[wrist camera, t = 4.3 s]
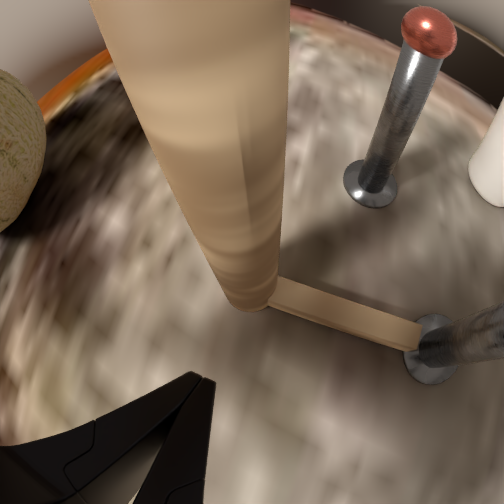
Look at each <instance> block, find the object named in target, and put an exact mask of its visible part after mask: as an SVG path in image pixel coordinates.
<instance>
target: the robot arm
mask: <svg viewBox="0 0 504 504" xmlns="http://www.w3.org/2000/svg"><path fill="white" fill-rule="evenodd" d="M215 390H216V382H215V381H213V380H211V379H208V378H206V377H204V378H203V377H202V376H201V375H199V374H197V373H195V372H192V371H190V372H187V373H185V374H184V375H182V376H180V377H178V378H176V379H174V380H173V381H171V382H169V383H167V384H165V385H163V386H161V387H159V388H157V389H156V390H154V391H152V392H150V393H148V394H146V395H144V396H142V397H140V398H138V399H136V400H134V401H132V402H130V403H128V404H126V405H124V406H122V407H120V408H118V409H116V410H114V411H112V412H110V413H108V414H105V415H103V416H101V417H99V418H97V419H96V420H92V421H90V422H88V423H86V424H84V425H81V426H79V427H77V428H74V429H72V430H69V431H66V432H63V433H60V434H57V435H54V436H50V437H47V438H43V439H39V440H36V441H32V442H28V443H24V444H20V445H14V446H0V504H128V503H129V501H130V500H131V499H132V498H133V496H134V495H135V494H136V492H137V491H138V490H139V489H140V490H139V492H138V494H137V496H136V498H135V500H134V502H133V504H203V498H204V486H205V475H206V466H207V457H208V448H209V440H210V431H211V423H212V414H213V406H214V398H215ZM140 487H141V488H140Z"/></svg>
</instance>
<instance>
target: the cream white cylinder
mask: <svg viewBox="0 0 504 504" xmlns="http://www.w3.org/2000/svg"><path fill="white" fill-rule="evenodd" d="M468 173H469V177H470V180H471V182H472V184H473V186H474V188H475V189H476V191H477V192H478V193H479V194H480V196H481V197H482V198H483V199H485V200H486V201H487V202H488V203H490V204H492V205H494V206H497V207H504V98H503V100H502V102H501V104H500V107H499V109H498V111H497V113H496V115H495V117H494V119H493V121H492V123H491V125H490V126H489V128H488V130H487V132H486V134H485V136H484V138H483V139H482V141H481V143H480V145H479V147H478V148H477V149H476V151H475V152H474V154H473V155H472V157H471V158H470V160H469V163H468Z"/></svg>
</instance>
